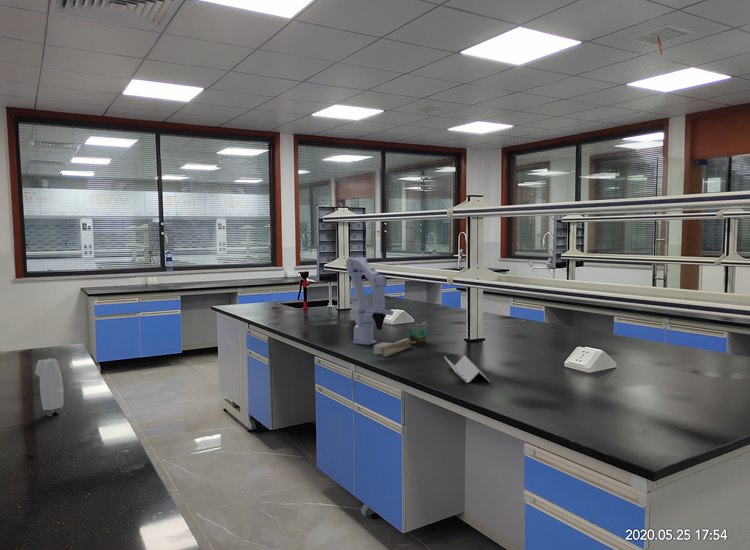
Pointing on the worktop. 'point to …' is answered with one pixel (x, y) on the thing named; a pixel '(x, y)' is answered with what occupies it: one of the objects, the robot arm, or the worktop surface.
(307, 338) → the worktop surface
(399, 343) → the birch board
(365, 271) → the robot arm
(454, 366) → the z bracket
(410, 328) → the food container
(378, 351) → the sage block
